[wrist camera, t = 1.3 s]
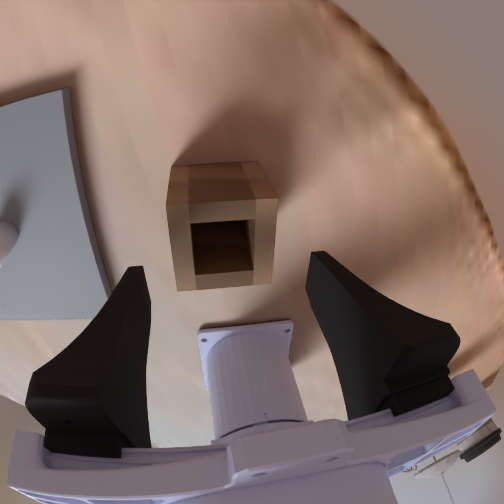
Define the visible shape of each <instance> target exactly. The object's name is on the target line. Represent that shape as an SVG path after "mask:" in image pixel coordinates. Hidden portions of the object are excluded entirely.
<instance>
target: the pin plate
mask: <svg viewBox="0 0 504 504" xmlns="http://www.w3.org/2000/svg"><path fill="white" fill-rule="evenodd" d="M111 294H112V291H111V288H110V285H109V282H108V279H107V275H106V272H105V269H104V265H103V262H102V258H101V255H100V251H99V247H98V244H97V240H96V236H95V232H94V228H93V224H92V220H91V216H90V212H89V207H88V203H87V198H86V193H85V189H84V184H83V179H82V173H81V168H80V162H79V157H78V151H77V144H76V138H75V131H74V123H73V116H72V107H71V98H70V87H68V88H63V89H59V90H55V91H51V92H47V93H43V94H39V95H36V96H32V97H28V98H25V99H22V100H18V101H15V102H12V103H9V104H6V105H3V106H0V320H68V319H94V318H95V316H96V315H97V314H98V312H99V311H100V310H101V308H102V307H103V305H104V304H105V303H106V301H107V300H108V298H109V297H110V295H111Z"/></svg>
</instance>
